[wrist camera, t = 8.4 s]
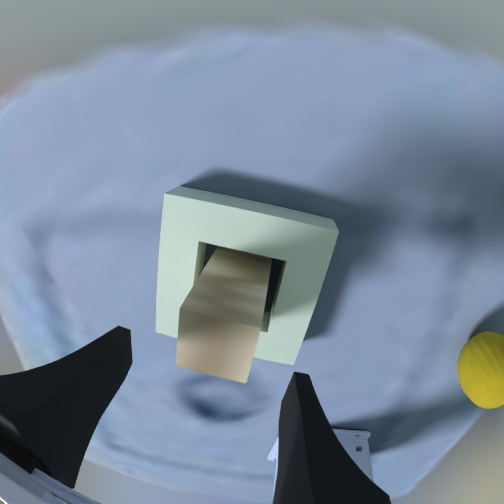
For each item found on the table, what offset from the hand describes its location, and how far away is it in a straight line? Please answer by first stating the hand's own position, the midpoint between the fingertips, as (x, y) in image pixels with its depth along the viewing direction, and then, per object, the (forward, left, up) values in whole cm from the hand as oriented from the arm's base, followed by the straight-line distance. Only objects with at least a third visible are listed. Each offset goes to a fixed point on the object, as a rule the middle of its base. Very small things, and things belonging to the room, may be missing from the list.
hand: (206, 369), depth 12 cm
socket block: (0, 0, -9) cm, 9 cm away
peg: (0, 0, -9) cm, 9 cm away
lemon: (-21, +2, -10) cm, 23 cm away
